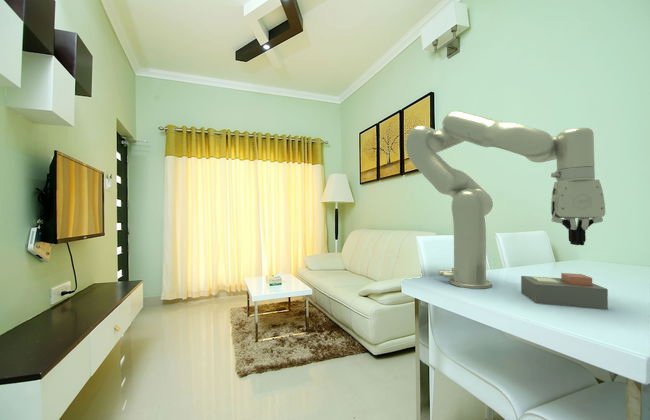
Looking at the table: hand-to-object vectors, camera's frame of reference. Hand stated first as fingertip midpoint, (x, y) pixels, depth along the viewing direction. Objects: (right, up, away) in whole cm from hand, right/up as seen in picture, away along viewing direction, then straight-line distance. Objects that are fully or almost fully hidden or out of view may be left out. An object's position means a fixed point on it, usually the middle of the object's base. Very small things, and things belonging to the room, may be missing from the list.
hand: (577, 244), depth 74 cm
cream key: (-7, -13, +2) cm, 15 cm away
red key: (0, -11, 0) cm, 12 cm away
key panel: (-3, -15, +1) cm, 16 cm away
